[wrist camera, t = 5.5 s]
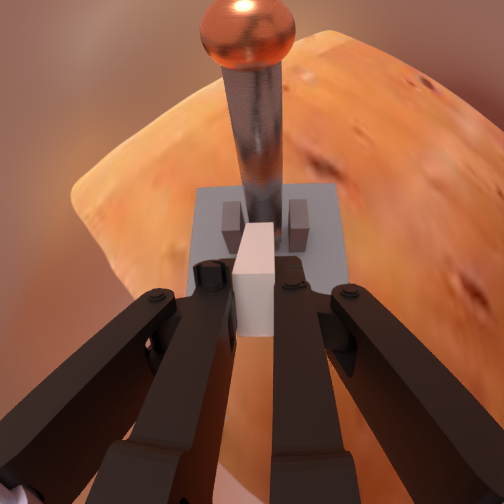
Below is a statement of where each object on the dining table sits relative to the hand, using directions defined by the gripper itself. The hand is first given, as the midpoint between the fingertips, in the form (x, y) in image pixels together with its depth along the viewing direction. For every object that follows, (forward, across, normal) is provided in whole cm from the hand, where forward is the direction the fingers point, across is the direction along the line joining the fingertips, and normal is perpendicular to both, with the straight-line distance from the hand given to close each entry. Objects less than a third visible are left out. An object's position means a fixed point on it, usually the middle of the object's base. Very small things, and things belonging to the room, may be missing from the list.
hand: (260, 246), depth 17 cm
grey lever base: (+16, 0, -7) cm, 18 cm away
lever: (+13, 0, -3) cm, 13 cm away
